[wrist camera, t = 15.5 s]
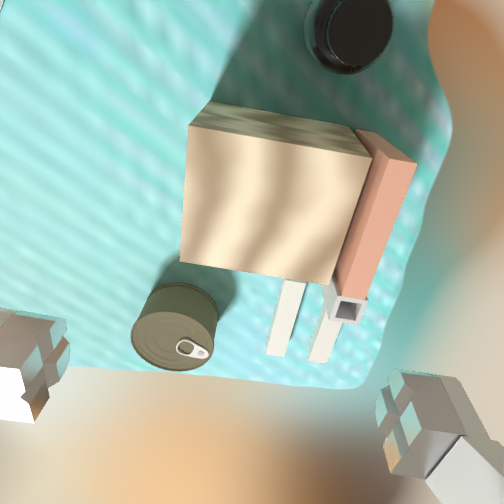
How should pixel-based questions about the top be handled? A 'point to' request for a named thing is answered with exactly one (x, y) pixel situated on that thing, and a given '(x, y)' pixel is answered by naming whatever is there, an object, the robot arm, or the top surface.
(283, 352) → the door stand
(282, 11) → the top surface
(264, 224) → the cabinet
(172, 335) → the can
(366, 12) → the supplement bottle
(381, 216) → the door
